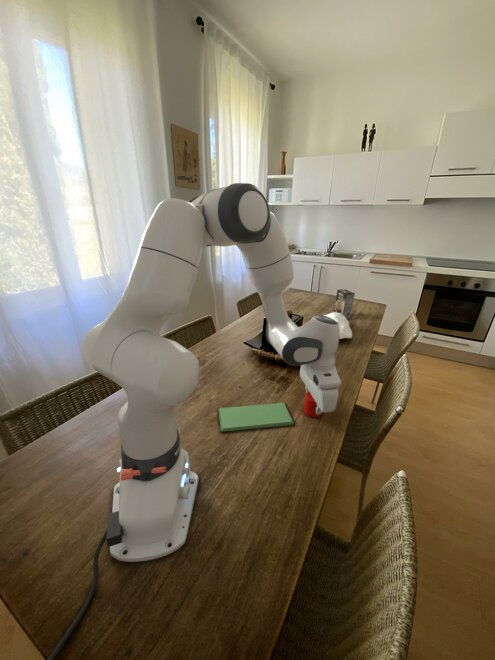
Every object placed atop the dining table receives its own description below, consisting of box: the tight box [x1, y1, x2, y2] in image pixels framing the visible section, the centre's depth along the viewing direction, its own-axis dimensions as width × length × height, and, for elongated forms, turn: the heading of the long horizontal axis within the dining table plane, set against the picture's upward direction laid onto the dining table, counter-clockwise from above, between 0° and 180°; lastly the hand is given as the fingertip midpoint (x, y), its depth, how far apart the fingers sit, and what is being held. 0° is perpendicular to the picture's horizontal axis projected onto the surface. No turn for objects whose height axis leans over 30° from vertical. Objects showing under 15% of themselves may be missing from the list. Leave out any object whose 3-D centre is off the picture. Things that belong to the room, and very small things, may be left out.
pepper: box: [303, 392, 322, 418], centre depth 89 cm, size 6×6×7 cm
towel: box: [218, 402, 295, 433], centre depth 87 cm, size 10×22×1 cm, turn 100°
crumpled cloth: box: [323, 311, 353, 340], centre depth 148 cm, size 24×35×9 cm
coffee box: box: [333, 289, 356, 320], centre depth 171 cm, size 9×6×16 cm
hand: (313, 404), depth 90 cm, fingers open, 6 cm apart
